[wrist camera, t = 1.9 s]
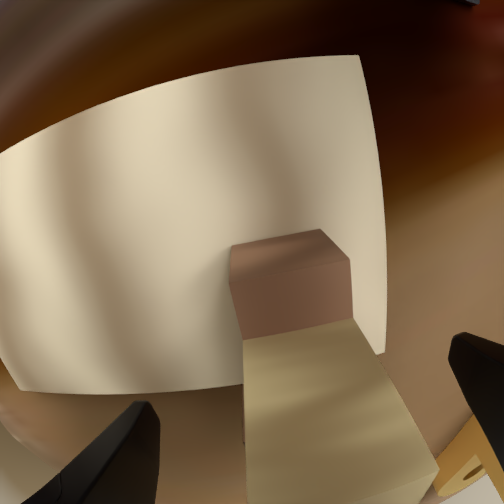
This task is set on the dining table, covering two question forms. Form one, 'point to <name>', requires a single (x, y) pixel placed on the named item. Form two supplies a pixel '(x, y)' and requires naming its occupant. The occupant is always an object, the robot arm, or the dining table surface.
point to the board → (180, 222)
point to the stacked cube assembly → (317, 384)
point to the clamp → (467, 461)
